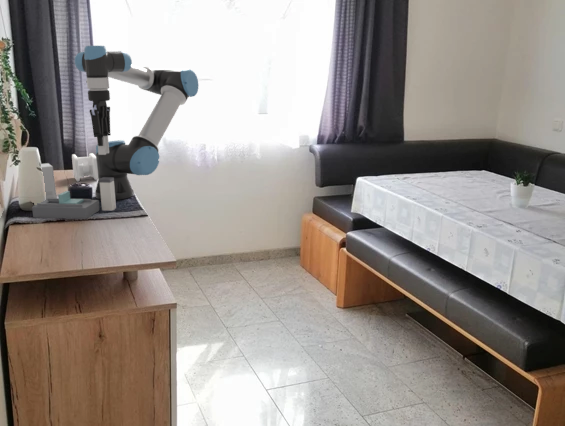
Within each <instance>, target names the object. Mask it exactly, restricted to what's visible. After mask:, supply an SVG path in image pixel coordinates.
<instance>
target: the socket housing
mask: <svg viewBox="0 0 565 426" xmlns="http://www.w3.org/2000/svg"><path fill="white" fill-rule="evenodd" d="M83 199H84V201H83V202H81V203H80V204H59V197H58V198H48V199H47V200H45V201H43V202H41V203H37V205H32V207H31V211H32V216H33V217H32V218H35V219H36V218H38V219H39V218H41V219H73V220H75V219H77V220H79V219H82V220H83V219H84V220H85V219H88V218H90V217H91V216H93V215H95V214H96V213H98V212H99V211H100V201H99V200H100V199H91V198H83Z"/></svg>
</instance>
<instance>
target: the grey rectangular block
mask: <svg viewBox="0 0 565 426" xmlns="http://www.w3.org/2000/svg"><path fill="white" fill-rule="evenodd" d="M99 182H100V192H101V199H100V201H101V202H100V203H101V211H105V212H108V211H109V212H110V211H114V210H115V209H117V203H116V202H117V200H115V188H114V177H103V178H101V179H99Z"/></svg>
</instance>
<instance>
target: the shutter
mask: <svg viewBox="0 0 565 426" xmlns="http://www.w3.org/2000/svg"><path fill="white" fill-rule="evenodd" d="M70 192H71V191H70V190H65V191H63V192H62V193H59V194H57V196H58V198H59V204H80V203H81V202H83V201H84V199H85V198H71V193H70Z"/></svg>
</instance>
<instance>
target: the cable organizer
mask: <svg viewBox="0 0 565 426" xmlns="http://www.w3.org/2000/svg"><path fill="white" fill-rule="evenodd" d="M71 160H72V161H71V162H72V173H73V174H72V175H73V178H74V179H75V181H76V182H78V183H79V182H80V180H81V178H85V177H89V178H91V177H92V178H93V179H94V180H95V181H98V169H97V160H96V154H94V153H93V152H91V153H89V154H88V156H80V157H79V156H77V155H76V154H75V153H73V154H71Z"/></svg>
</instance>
